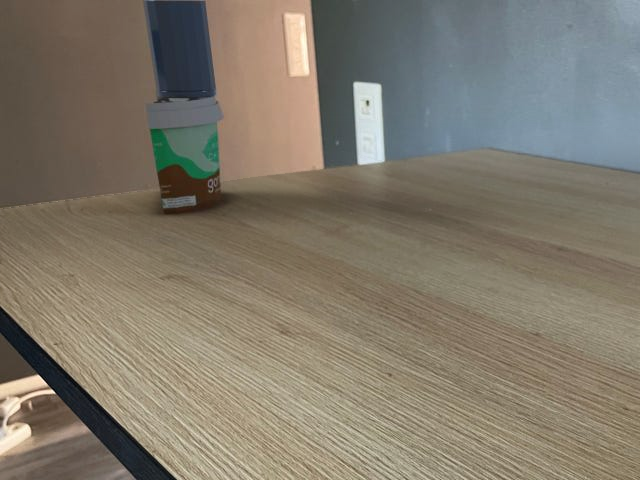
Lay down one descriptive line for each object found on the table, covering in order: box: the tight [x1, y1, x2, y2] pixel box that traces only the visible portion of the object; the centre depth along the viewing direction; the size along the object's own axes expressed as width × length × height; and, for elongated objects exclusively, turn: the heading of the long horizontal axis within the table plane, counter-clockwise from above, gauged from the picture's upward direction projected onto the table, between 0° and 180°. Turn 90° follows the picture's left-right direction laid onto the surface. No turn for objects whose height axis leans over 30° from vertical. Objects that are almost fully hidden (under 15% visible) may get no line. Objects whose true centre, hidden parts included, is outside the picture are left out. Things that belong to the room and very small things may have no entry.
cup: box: [142, 0, 218, 98], centre depth 72 cm, size 5×5×8 cm
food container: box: [145, 89, 225, 216], centre depth 75 cm, size 12×6×10 cm, turn 16°
